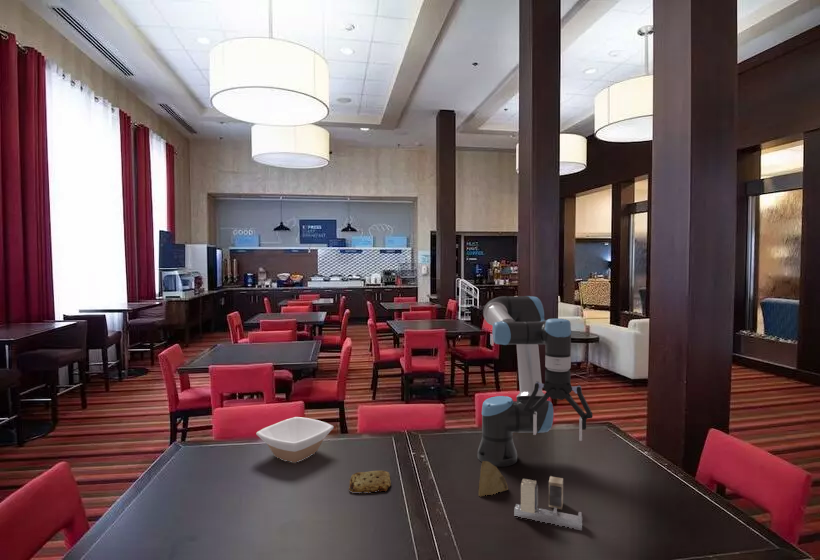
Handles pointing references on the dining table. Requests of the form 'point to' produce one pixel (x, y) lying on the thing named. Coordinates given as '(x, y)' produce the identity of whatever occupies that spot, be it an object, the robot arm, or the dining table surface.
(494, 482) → the rock
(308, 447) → the bowl
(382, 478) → the pastry
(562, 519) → the grey l-shaped piece
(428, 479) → the dining table surface
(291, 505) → the dining table surface
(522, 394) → the robot arm
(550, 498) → the block
